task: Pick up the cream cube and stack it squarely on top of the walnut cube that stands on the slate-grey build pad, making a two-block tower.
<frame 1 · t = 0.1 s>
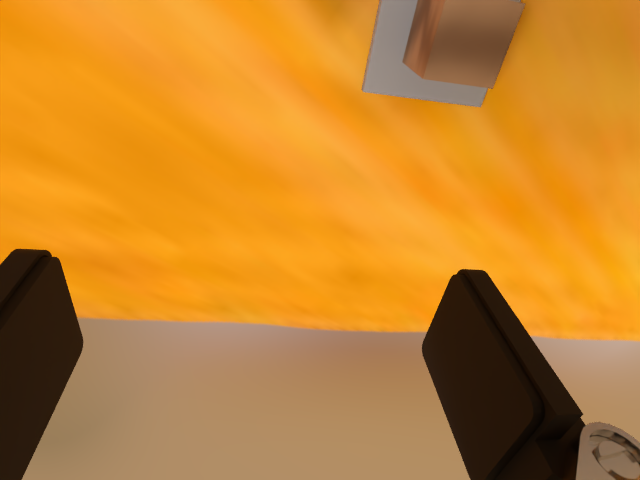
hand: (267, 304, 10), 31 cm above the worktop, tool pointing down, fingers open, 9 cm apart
build pad: (440, 29, 35), on the worktop
walnut block: (443, 30, 35), point 1 cm above the worktop, touching build pad
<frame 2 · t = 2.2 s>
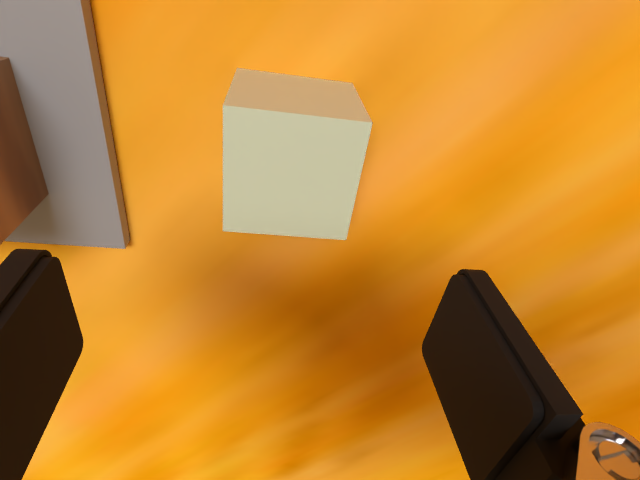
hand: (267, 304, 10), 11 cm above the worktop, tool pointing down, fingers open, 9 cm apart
cream cube: (290, 130, 19), on the worktop
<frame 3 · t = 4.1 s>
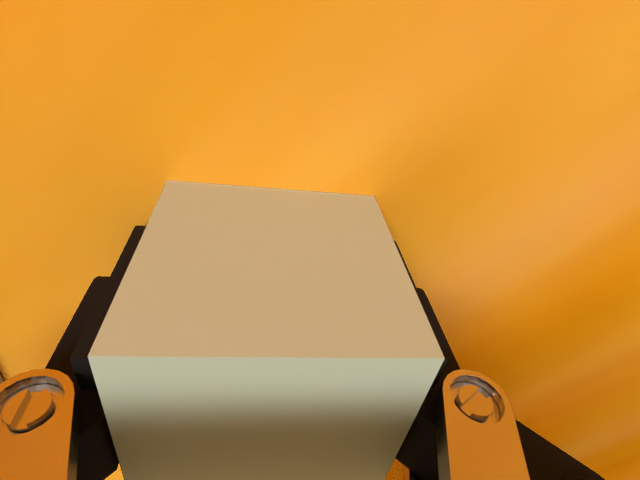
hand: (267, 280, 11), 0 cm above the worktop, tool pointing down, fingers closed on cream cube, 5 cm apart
cream cube: (268, 267, 11), on the worktop, touching gripper
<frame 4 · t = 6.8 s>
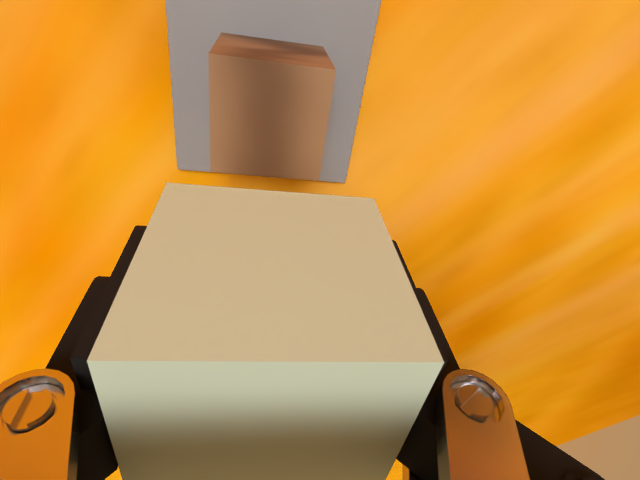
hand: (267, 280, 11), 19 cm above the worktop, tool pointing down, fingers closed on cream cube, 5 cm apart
cream cube: (267, 269, 11), point 18 cm above the worktop, touching gripper
build pad: (269, 87, 26), on the worktop
walnut block: (269, 91, 25), point 1 cm above the worktop, touching build pad
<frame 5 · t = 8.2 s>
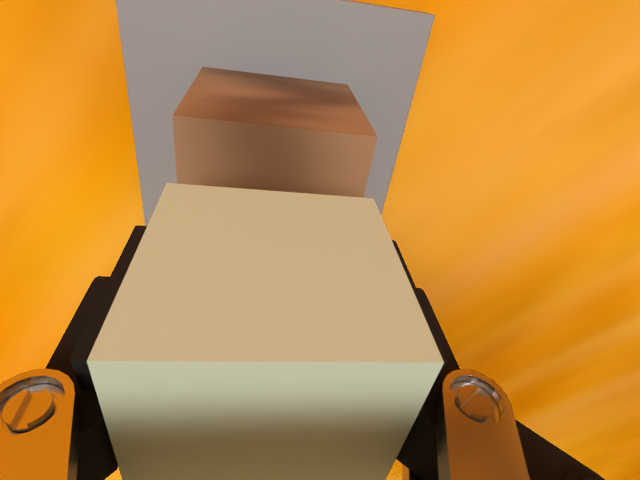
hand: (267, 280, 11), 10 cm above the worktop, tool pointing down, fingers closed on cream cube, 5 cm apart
cream cube: (267, 270, 11), point 10 cm above the worktop, touching gripper
build pad: (272, 137, 19), on the worktop
walnut block: (272, 144, 18), point 1 cm above the worktop, touching build pad
when the fingers open (9 cm above the worktop, at t = 9.3 s): cream cube drops 2 cm, resting on walnut block.
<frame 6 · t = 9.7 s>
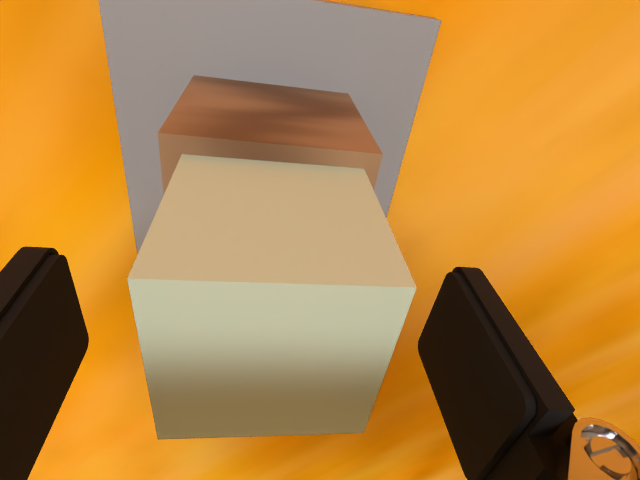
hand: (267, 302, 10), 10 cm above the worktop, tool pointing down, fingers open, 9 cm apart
cream cube: (270, 235, 12), point 7 cm above the worktop, touching walnut block
build pad: (268, 148, 18), on the worktop
walnut block: (268, 156, 17), point 1 cm above the worktop, touching build pad, cream cube
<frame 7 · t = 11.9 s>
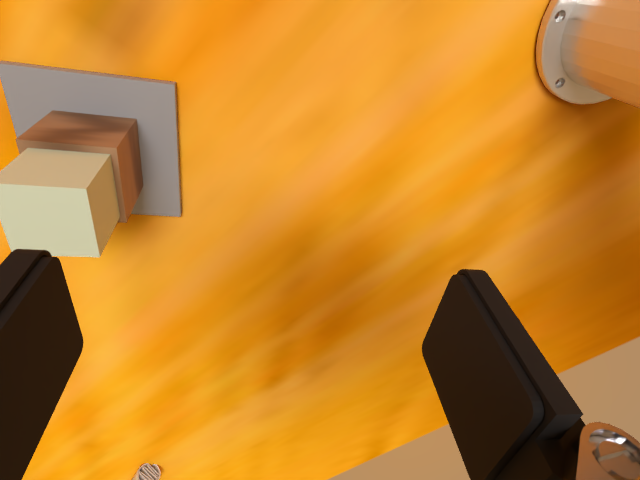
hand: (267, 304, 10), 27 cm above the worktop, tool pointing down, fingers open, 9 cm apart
cream cube: (76, 184, 28), point 7 cm above the worktop, touching walnut block
build pad: (104, 146, 33), on the worktop
walnut block: (101, 150, 33), point 1 cm above the worktop, touching build pad, cream cube
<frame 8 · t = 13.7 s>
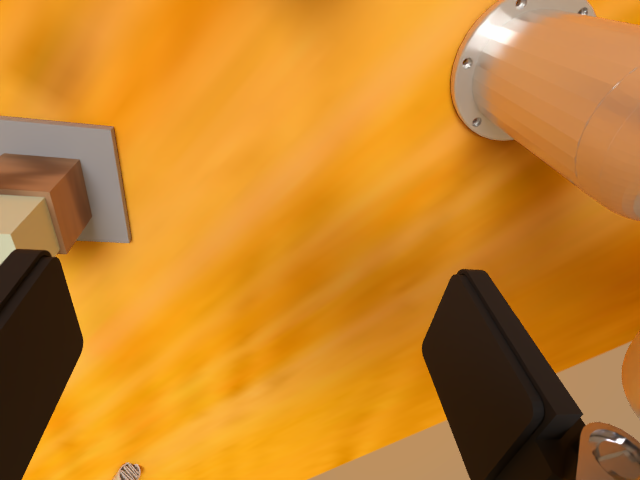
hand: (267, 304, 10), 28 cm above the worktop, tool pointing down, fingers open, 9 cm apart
cream cube: (18, 222, 31), point 7 cm above the worktop, touching walnut block
build pad: (54, 182, 37), on the worktop
walnut block: (50, 186, 36), point 1 cm above the worktop, touching build pad, cream cube
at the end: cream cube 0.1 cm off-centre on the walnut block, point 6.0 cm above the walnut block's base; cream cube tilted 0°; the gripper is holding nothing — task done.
